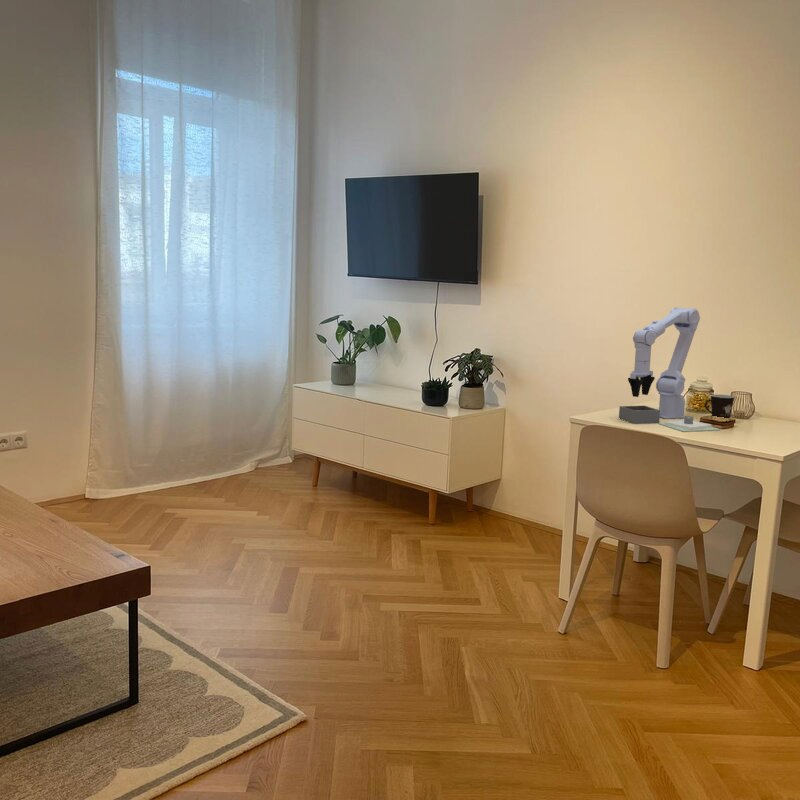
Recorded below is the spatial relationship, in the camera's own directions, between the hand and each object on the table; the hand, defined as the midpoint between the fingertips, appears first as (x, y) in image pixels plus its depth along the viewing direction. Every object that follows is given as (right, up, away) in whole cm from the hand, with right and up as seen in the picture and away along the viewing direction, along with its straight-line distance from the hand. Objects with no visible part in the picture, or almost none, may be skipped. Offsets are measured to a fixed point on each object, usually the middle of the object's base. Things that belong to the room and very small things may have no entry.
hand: (640, 395), depth 325 cm
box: (0, -10, +1) cm, 10 cm away
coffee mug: (+31, -10, +4) cm, 33 cm away
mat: (+15, -12, -10) cm, 22 cm away
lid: (+15, -11, -10) cm, 21 cm away
